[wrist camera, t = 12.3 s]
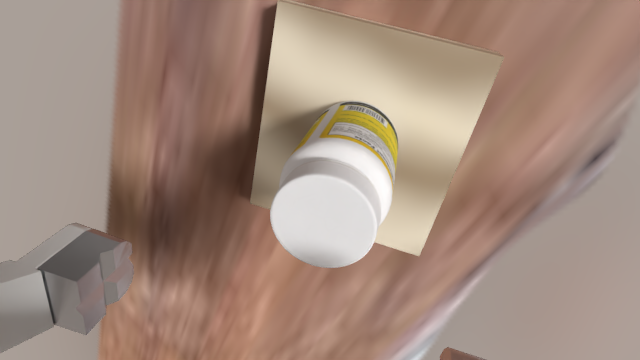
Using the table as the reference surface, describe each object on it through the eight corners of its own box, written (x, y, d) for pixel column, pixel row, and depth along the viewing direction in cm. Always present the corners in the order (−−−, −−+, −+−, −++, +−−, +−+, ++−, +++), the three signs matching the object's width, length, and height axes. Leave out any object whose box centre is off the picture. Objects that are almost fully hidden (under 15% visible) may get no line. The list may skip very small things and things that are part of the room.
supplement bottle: (331, 189, 23) (289, 285, 16) (299, 115, 21) (235, 185, 14) (411, 167, 21) (405, 264, 14) (382, 85, 20) (359, 147, 12)
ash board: (286, -1, 20) (277, 0, 19) (498, 52, 19) (504, 57, 18) (258, 192, 26) (249, 203, 25) (419, 241, 25) (419, 256, 24)
